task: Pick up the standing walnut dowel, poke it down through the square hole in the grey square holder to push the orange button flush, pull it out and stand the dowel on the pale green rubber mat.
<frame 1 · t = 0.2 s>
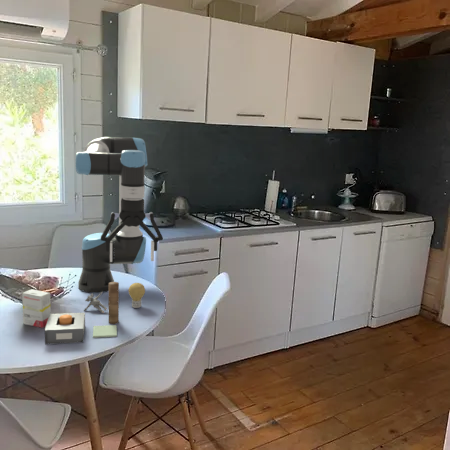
hand: (131, 260, 164), 27 cm above the table, fingers open, 13 cm apart
walnut dowel: (113, 321, 179), on the table
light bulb: (136, 307, 193), on the table
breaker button: (65, 321, 166), point 5 cm above the table, slide at 0.0 cm
ink box: (37, 324, 174), on the table
elephant figurine: (97, 310, 189), on the table
mat: (104, 332, 171), on the table
grey square holder: (66, 334, 167), on the table
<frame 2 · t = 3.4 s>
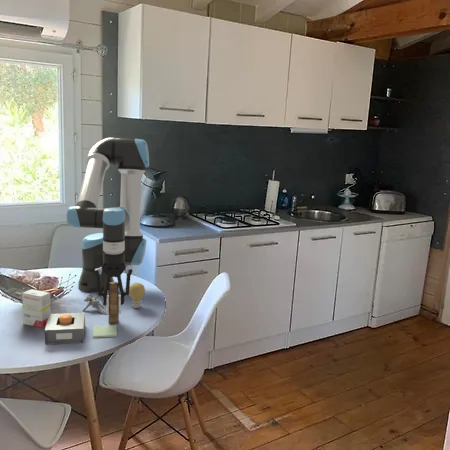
hand: (113, 312, 178), 4 cm above the table, fingers closed on walnut dowel, 3 cm apart
walnut dowel: (113, 321, 179), on the table, touching gripper
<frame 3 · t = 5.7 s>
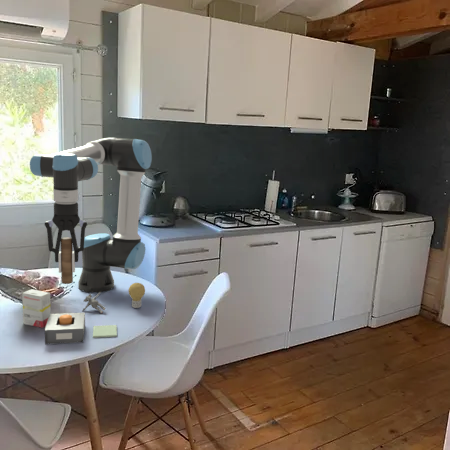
hand: (66, 271, 162), 23 cm above the table, fingers closed on walnut dowel, 3 cm apart
walnut dowel: (67, 282, 163), point 19 cm above the table, touching gripper
everything else where it was.
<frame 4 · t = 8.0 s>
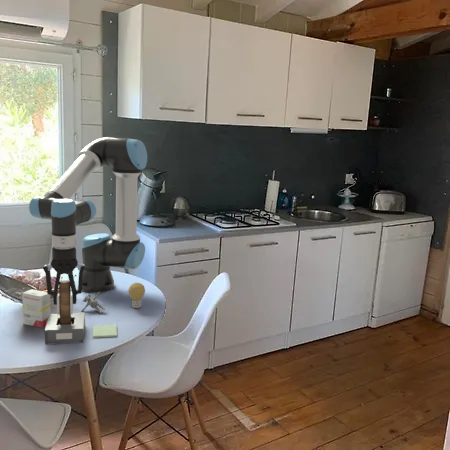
hand: (65, 312, 165), 8 cm above the table, fingers closed on walnut dowel, 3 cm apart
walnut dowel: (65, 323, 166), point 4 cm above the table, touching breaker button, gripper
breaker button: (65, 327, 167), point 3 cm above the table, slide at -2.4 cm, touching walnut dowel
everything else where it was.
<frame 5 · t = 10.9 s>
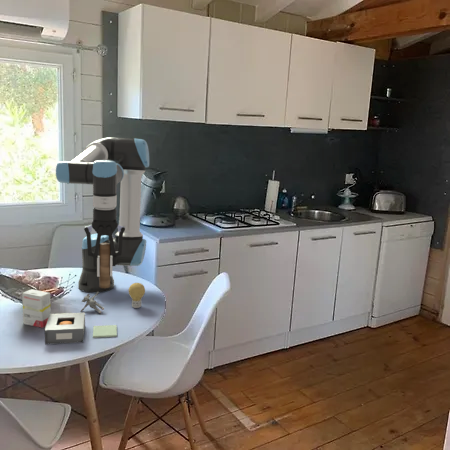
hand: (104, 275, 166), 21 cm above the table, fingers closed on walnut dowel, 3 cm apart
walnut dowel: (104, 286, 167), point 17 cm above the table, touching gripper
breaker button: (65, 327, 167), point 3 cm above the table, slide at -2.4 cm
when the fingers open (5 cm above the table, at t = 13.3 s): walnut dowel stays where it is, resting on mat.
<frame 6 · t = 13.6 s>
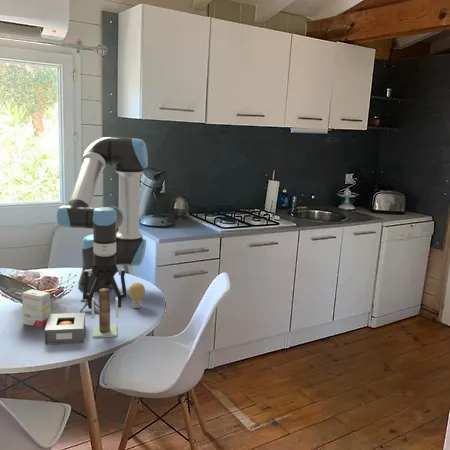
hand: (104, 316, 169), 6 cm above the table, fingers open, 7 cm apart
walnut dowel: (104, 330, 170), point 1 cm above the table, touching mat
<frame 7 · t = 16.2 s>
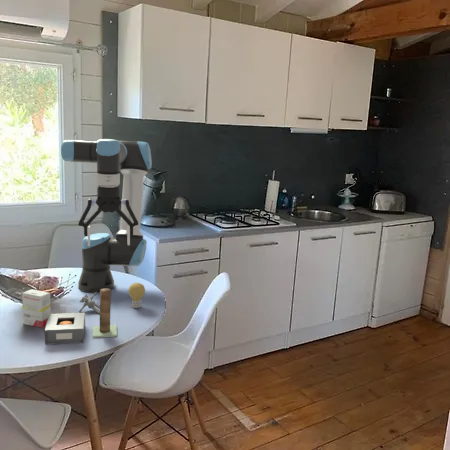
hand: (108, 244, 172), 30 cm above the table, fingers open, 13 cm apart
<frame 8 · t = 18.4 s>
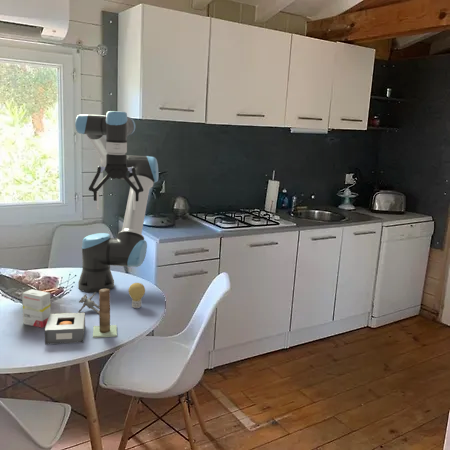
hand: (116, 209, 186), 39 cm above the table, fingers open, 13 cm apart
at the end: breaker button slide at -2.4 cm; walnut dowel inside the target area on the mat (0.1 cm from its centre), point 0.7 cm above the mat's base; the gripper is holding nothing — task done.
